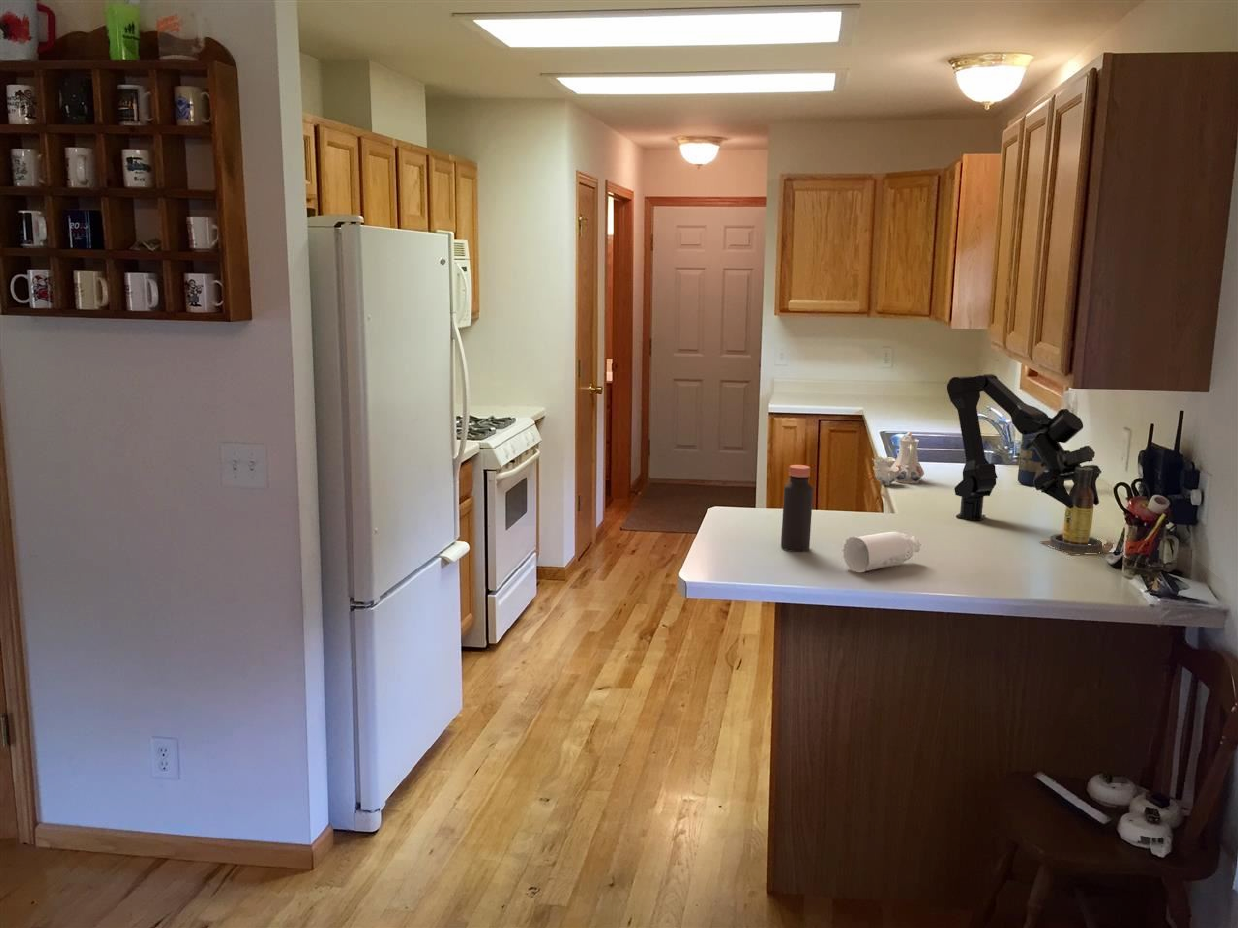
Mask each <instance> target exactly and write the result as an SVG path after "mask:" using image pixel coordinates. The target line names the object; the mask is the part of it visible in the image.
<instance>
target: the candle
mask: <svg viewBox="0 0 1238 928" xmlns="http://www.w3.org/2000/svg"><path fill="white" fill-rule="evenodd" d="M1021 435H1022V436H1021V440H1020V442H1021V443H1020V450H1019V451H1020V452H1019V462H1018V471H1017V481H1018V482H1019V484H1023V485H1027V486H1033V487H1034V485H1033V479H1035V478H1036V477H1037V476H1038V475H1039V474H1040V473H1041V472H1043V471H1044V470H1045V469H1047V467H1042V466H1041V465H1040V464H1041V463H1042V462H1043V461H1042V459H1041V458H1040V456H1039V455H1038V453H1037V451H1036V450H1035V449H1028V450H1027V449H1026V444H1027V442H1028V439H1033V438H1034V437H1035V436H1036V435H1038V434H1030V435H1023V434H1021Z"/></svg>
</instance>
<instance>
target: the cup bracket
mask: <svg viewBox="0 0 1238 928" xmlns="http://www.w3.org/2000/svg"><path fill="white" fill-rule="evenodd" d="M1062 535H1063V533H1058V534H1056V533H1055V534H1053V535H1050V539H1049V540H1039V541H1040V542H1042V543H1044V544H1047V545H1050V546H1052V547H1055V548H1057V549H1059V550H1061V551H1063V552H1062V553H1064V552H1066V553H1068V554H1067V555H1069V554H1085V553H1099V552H1100V553H1106V554H1108V553H1107V552H1109V551H1110V550H1111V549H1112V548H1113V544H1114V542H1112V541H1109V540H1106V541H1107V543H1106V544H1104V545H1103V546H1102V542H1101V541H1100V540H1097V539H1095V538H1096V537H1095V538H1094V537H1091V536H1090V539H1089V544H1091V545H1077V544H1070V543H1065V542H1062V540H1063V538H1062ZM1044 544H1043V545H1044ZM1104 546H1105V547H1104ZM1059 550H1058V551H1059ZM1061 551H1060V552H1061ZM1066 553H1065V554H1066Z"/></svg>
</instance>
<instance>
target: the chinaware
mask: <svg viewBox="0 0 1238 928" xmlns="http://www.w3.org/2000/svg"><path fill="white" fill-rule="evenodd" d="M919 441H920V440H919V439H917V438H915V436H914V435H912V432H911V431H908V432H907V433H906V435H904V436H903V437H902V438H899V439H898V442H899V449H898V454H897V456H896V458H894V457H891V456H888V457H882V456H876V457H874V458H873V457H872V458H871V460H872V461H873V463H874V466H873V467H872V470H873V472H874V476H875V478H876V480H877V481H879V483H880V485H881V486H887V487H888V486H891V485H892V484H891V483H893V482H896V483H900V484H919V483H920V481H919V480H920V479H922V477H923V476H924V475H925V471H924V469H923V467H922V466H921V463H920V461H919V457H918V445H919Z"/></svg>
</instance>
